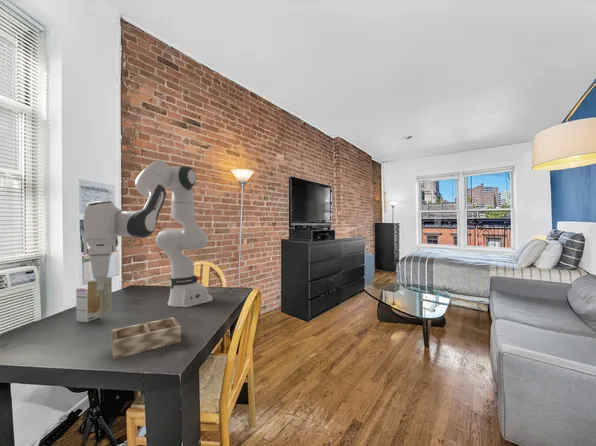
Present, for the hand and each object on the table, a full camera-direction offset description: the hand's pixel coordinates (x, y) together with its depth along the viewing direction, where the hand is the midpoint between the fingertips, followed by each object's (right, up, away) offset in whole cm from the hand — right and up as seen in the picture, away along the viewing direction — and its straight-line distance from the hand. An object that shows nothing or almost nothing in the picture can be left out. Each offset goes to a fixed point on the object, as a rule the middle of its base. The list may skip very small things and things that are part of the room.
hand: (100, 286), depth 90 cm
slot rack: (+16, -20, +1) cm, 26 cm away
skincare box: (0, -10, 0) cm, 10 cm away
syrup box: (-23, -20, +23) cm, 39 cm away
